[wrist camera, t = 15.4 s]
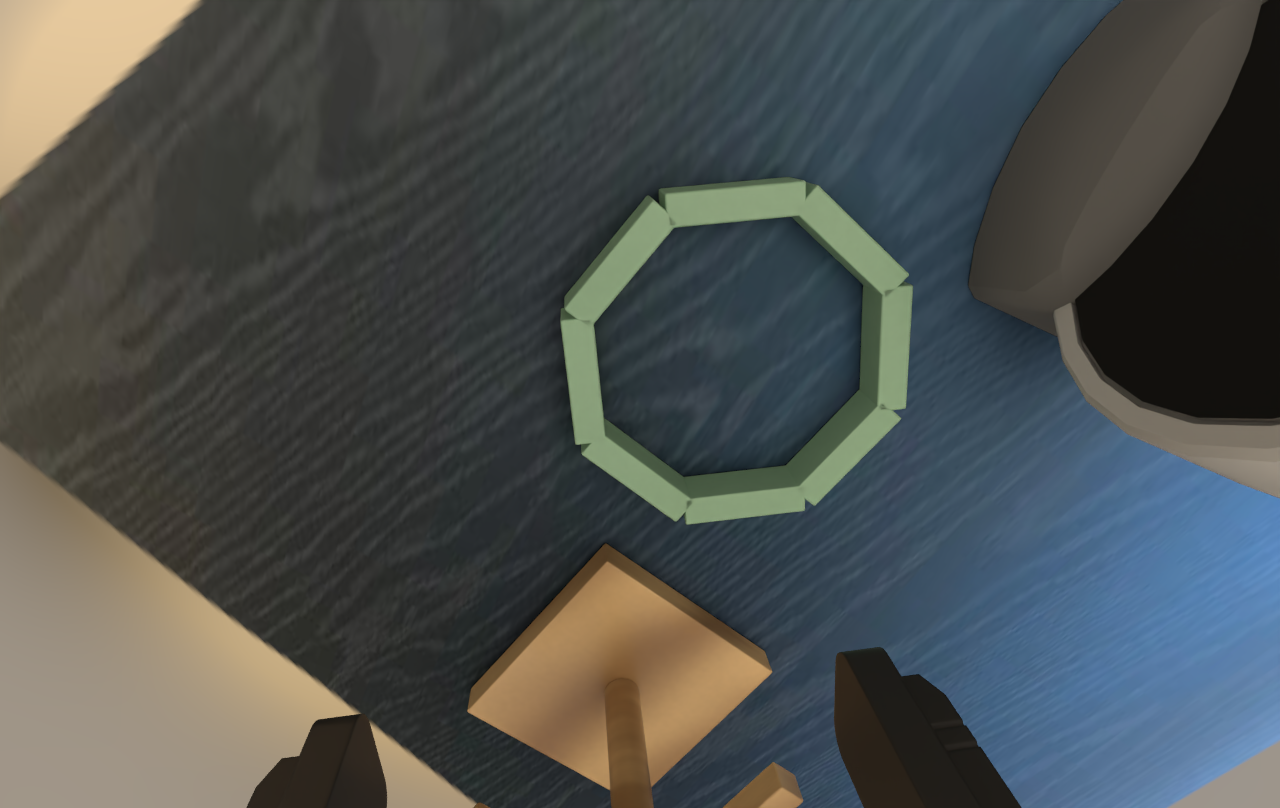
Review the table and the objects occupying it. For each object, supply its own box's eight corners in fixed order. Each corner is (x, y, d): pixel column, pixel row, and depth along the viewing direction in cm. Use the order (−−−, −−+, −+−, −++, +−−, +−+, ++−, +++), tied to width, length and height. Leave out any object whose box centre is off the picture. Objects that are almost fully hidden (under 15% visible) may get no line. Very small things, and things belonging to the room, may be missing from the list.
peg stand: (822, 643, 35) (951, 907, 23) (636, 818, 38) (666, 1130, 26) (599, 485, 31) (618, 709, 19) (409, 696, 34) (325, 1001, 22)
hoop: (953, 328, 30) (978, 342, 28) (737, 548, 33) (747, 573, 31) (722, 103, 26) (733, 101, 24) (499, 375, 29) (494, 392, 27)
